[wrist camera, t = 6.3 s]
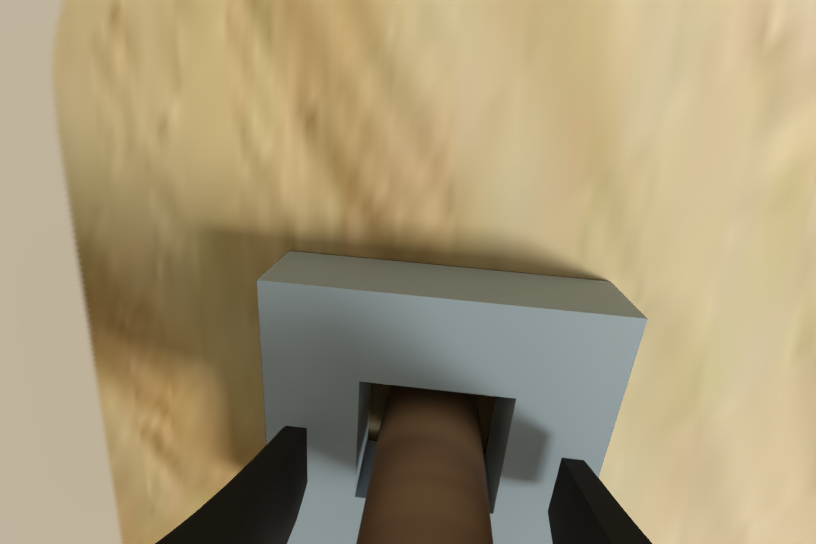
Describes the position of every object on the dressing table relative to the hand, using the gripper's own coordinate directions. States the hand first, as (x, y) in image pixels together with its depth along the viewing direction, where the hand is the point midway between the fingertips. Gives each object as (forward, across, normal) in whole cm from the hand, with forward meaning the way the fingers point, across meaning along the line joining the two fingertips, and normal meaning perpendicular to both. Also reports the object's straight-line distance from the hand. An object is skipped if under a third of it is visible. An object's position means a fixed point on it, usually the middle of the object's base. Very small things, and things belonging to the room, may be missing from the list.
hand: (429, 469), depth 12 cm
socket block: (+3, 0, 0) cm, 3 cm away
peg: (+3, 0, 0) cm, 3 cm away
